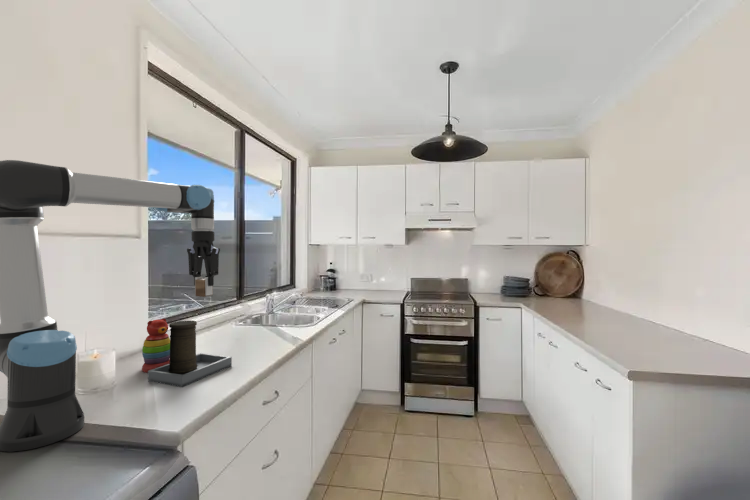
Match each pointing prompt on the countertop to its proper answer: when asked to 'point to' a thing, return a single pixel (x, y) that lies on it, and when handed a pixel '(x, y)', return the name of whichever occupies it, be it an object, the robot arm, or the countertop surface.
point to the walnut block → (200, 287)
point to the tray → (205, 368)
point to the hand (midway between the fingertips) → (203, 294)
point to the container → (182, 347)
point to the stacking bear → (156, 345)
